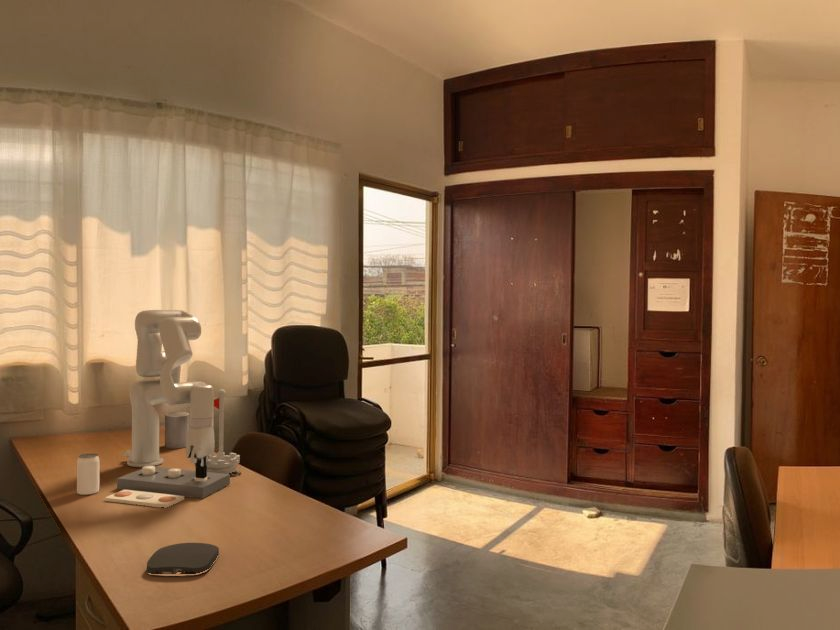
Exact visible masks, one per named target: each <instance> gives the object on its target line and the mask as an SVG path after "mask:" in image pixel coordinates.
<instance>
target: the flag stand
mask: <svg viewBox="0 0 840 630" xmlns="http://www.w3.org/2000/svg"><path fill="white" fill-rule="evenodd" d="M226 395H227V392H226V390H225V389H224V388H223V389H222V388H221V389H219V390H218V391H217V396H218V397H217V398H215V399H214V408H216V409H218V411H219V417H218V418H219V419H218V420H219V421H218V423H219V425H218V452H217V455H213V453H212V456H211V457H210V458H209V459H208V464H207V472H212V473H222V474H228V473H231V474H233V473H232V472H234V473H236V472H237V465H239V464H240V459H241V458H240V456H241V455H240V454H237V453H235V452H229V454H228V455H227V454H226V455H225V452H224V422H225V421H224V420H225V419H224V416H225V415H224V413H225V411H224V410H225V405H224V404H225V397H226ZM235 471H236V472H235Z"/></svg>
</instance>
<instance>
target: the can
mask: <svg viewBox="0 0 840 630" xmlns="http://www.w3.org/2000/svg"><path fill="white" fill-rule="evenodd" d="M99 491H100V457H99V454H98V453H91V452H90V453H83V454H80V455H78V458H77V461H76V494H78V495H79V496H91V495H95V494H97V493H98V492H99Z"/></svg>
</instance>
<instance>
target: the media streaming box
mask: <svg viewBox="0 0 840 630" xmlns="http://www.w3.org/2000/svg"><path fill="white" fill-rule="evenodd" d="M219 550H220V548H219V546H217V545H214V544H210V543H205V542H182V543H181V542H180V543H175V544H170V545H167V546H166V545H165V546H163V547H160V548H159V549H157V550H156V551H154V552H153V554H151V556H150V557H149V558H148V560H147V562H146V573H147V572H148V573H151V574H176V573H177V572H181V573H180V574H196V573H200V572H203V571H205V570H207V569H209V568H210V567H211V565H212V564H213V562H214V561H215V560H216V558H217V556H218V555H219V554H220V551H219ZM219 556H220V555H219ZM148 573H147V574H148Z"/></svg>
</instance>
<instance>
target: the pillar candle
mask: <svg viewBox="0 0 840 630" xmlns="http://www.w3.org/2000/svg"><path fill="white" fill-rule="evenodd" d="M189 428H190V412H188V411H172V412H167V413H165V414H164V448H166V449H182V448H186V444H187V435H188V430H189Z"/></svg>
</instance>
